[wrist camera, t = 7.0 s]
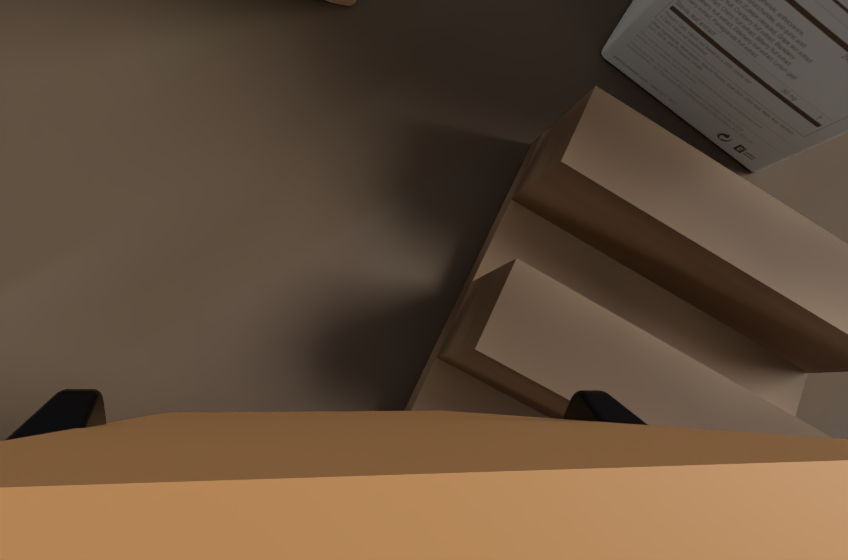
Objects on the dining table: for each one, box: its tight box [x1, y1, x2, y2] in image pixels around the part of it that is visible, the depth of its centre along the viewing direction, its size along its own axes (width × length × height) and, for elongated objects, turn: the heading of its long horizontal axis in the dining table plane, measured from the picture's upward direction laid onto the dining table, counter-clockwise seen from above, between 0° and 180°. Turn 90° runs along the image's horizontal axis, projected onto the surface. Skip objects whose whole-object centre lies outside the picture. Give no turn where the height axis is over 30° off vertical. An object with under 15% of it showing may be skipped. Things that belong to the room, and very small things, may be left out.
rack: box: [404, 86, 848, 438], centre depth 22 cm, size 16×14×5 cm
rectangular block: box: [0, 411, 848, 560], centre depth 8 cm, size 2×6×12 cm, turn 90°
